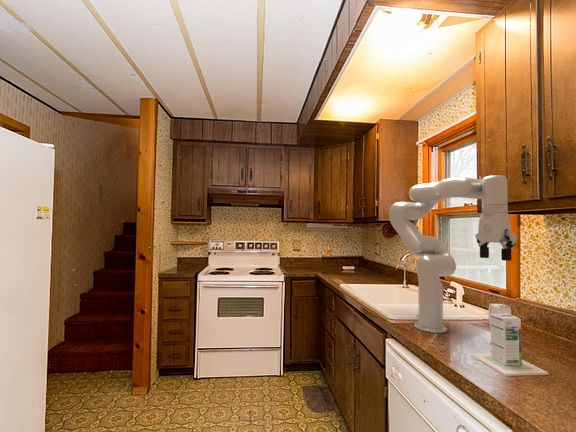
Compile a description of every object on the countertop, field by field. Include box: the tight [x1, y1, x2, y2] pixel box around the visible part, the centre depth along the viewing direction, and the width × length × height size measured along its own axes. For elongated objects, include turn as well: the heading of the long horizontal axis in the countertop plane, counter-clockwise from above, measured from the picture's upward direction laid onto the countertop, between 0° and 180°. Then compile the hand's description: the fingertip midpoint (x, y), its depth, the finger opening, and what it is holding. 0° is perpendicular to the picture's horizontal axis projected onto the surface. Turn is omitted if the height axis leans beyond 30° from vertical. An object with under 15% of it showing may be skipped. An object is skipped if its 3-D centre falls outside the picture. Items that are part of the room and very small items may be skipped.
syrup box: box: [489, 313, 523, 366], centre depth 95 cm, size 6×6×14 cm
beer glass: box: [487, 302, 512, 347], centre depth 109 cm, size 7×7×15 cm
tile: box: [470, 353, 550, 377], centre depth 94 cm, size 14×14×1 cm
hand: (494, 259), depth 105 cm, fingers open, 9 cm apart
